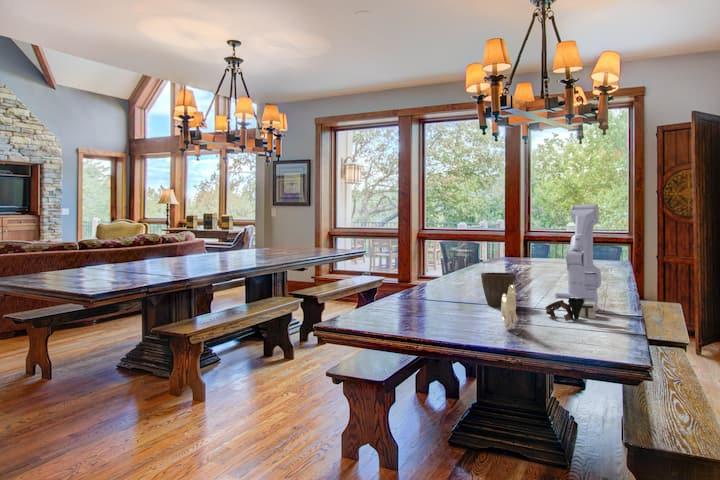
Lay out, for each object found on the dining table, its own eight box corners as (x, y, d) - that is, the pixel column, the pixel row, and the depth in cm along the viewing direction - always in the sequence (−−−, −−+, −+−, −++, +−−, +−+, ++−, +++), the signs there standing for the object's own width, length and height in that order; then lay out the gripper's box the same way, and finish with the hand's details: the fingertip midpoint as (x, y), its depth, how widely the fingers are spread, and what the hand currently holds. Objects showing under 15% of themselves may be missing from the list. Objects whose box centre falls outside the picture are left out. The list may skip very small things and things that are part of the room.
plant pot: (520, 312, 206) (520, 274, 206) (485, 312, 206) (485, 274, 206) (510, 307, 221) (510, 272, 221) (477, 307, 221) (477, 272, 221)
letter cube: (578, 316, 196) (578, 301, 196) (595, 317, 193) (595, 302, 193) (578, 318, 190) (578, 303, 190) (595, 319, 188) (595, 304, 188)
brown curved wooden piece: (561, 322, 181) (551, 302, 184) (548, 330, 189) (538, 310, 192) (587, 314, 185) (576, 294, 188) (572, 321, 193) (562, 302, 196)
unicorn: (497, 322, 182) (497, 276, 182) (508, 322, 181) (508, 276, 181) (508, 332, 162) (508, 280, 162) (520, 332, 162) (520, 281, 162)
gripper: (553, 282, 185) (553, 318, 185) (595, 284, 176) (595, 322, 176) (558, 281, 191) (558, 316, 191) (598, 283, 182) (599, 319, 182)
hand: (576, 318), depth 184 cm, fingers closed
